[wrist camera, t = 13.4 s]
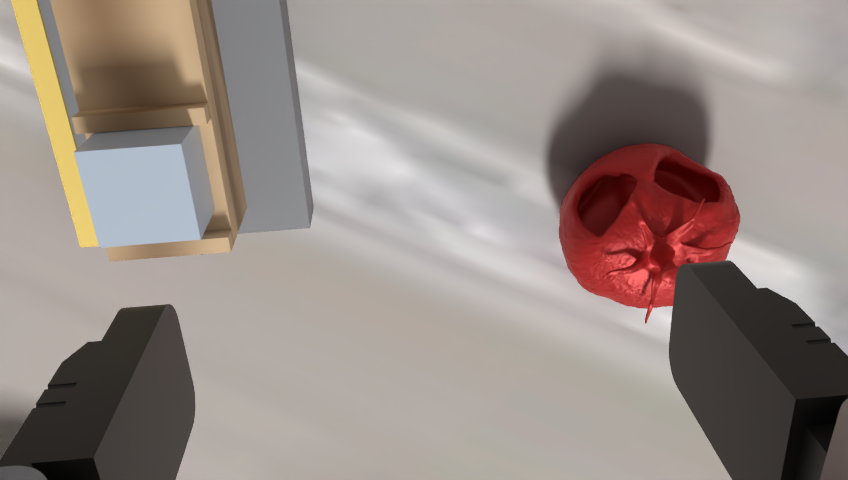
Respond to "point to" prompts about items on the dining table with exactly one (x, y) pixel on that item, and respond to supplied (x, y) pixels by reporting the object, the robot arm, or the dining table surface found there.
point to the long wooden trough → (156, 94)
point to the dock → (248, 99)
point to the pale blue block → (146, 185)
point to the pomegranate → (644, 223)
